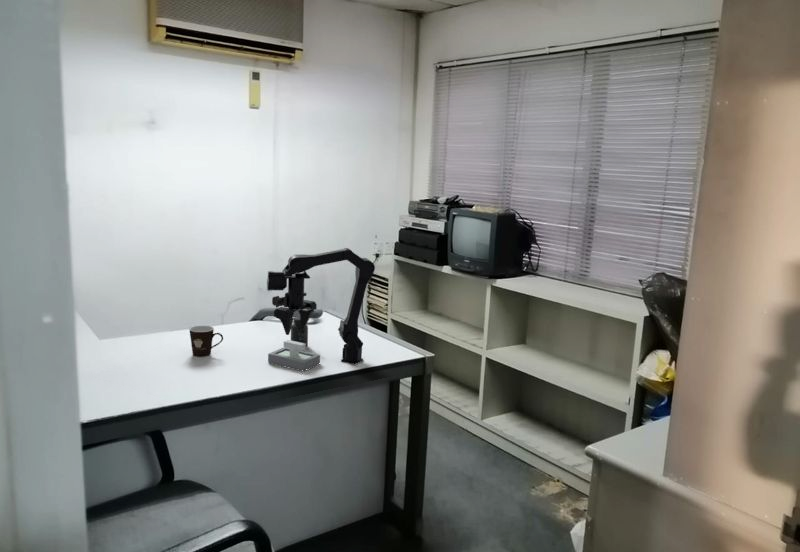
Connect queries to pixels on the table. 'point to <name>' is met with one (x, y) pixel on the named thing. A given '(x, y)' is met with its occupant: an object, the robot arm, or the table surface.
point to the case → (293, 359)
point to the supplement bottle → (299, 332)
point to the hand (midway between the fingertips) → (295, 331)
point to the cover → (294, 350)
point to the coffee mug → (202, 340)
